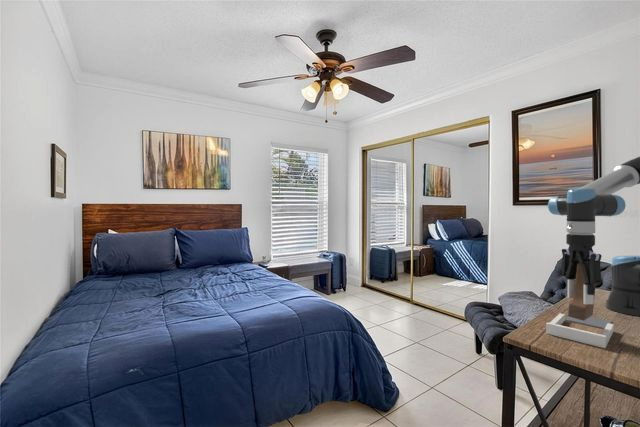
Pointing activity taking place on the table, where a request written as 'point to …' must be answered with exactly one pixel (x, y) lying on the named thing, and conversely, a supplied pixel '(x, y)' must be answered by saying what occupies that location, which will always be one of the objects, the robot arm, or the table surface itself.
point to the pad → (590, 322)
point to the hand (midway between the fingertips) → (580, 300)
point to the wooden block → (580, 298)
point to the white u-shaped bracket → (579, 332)
